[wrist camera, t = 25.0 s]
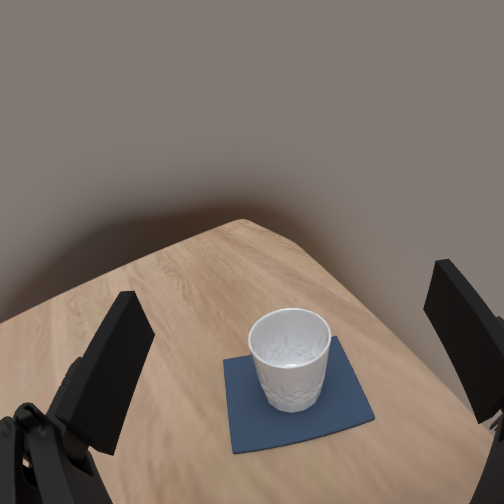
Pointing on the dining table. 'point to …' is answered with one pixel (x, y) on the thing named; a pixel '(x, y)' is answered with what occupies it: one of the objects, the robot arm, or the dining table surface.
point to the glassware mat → (298, 423)
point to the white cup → (290, 357)
